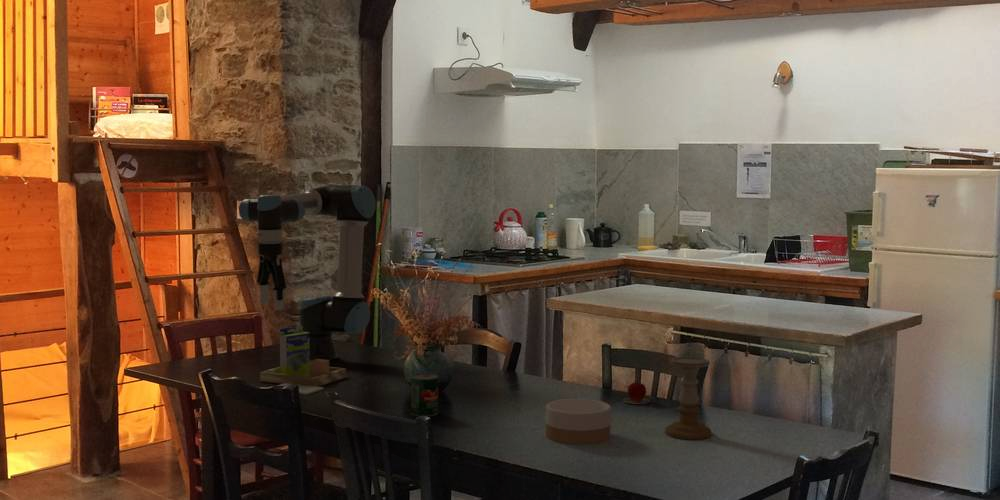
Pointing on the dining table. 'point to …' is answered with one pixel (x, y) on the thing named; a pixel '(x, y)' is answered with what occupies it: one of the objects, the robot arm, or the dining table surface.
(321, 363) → the terracotta block
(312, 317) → the robot arm
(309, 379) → the crate frame
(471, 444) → the dining table surface
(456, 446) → the dining table surface
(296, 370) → the box
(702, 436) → the candle holder
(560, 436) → the brown round container
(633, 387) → the apple
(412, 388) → the canned tomato
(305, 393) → the sage mat
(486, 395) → the dining table surface
